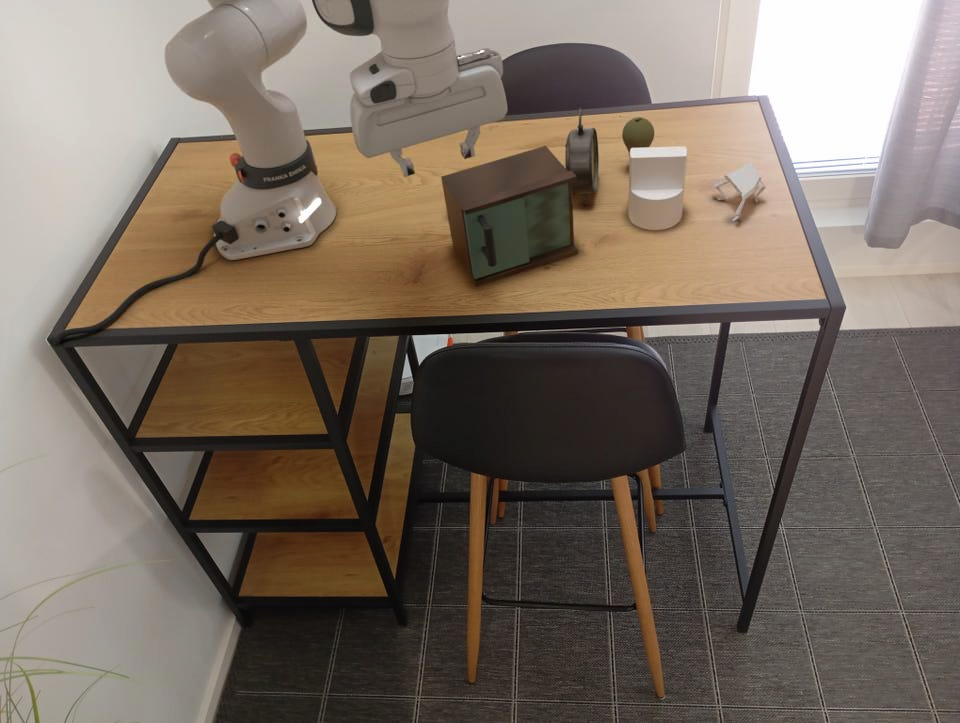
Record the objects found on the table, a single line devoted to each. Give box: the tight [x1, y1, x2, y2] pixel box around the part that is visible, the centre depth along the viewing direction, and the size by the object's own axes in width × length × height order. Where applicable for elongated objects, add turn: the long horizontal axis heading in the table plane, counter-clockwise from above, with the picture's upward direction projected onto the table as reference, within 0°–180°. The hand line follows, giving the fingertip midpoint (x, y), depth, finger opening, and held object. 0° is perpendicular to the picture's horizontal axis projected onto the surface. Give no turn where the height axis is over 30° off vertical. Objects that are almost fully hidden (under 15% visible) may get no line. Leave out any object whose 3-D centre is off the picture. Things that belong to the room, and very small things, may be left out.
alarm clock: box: [564, 107, 600, 208], centre depth 136 cm, size 11×5×16 cm, turn 168°
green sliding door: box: [463, 197, 529, 279], centre depth 121 cm, size 10×5×12 cm, turn 110°
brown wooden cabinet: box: [440, 145, 579, 287], centre depth 127 cm, size 18×12×15 cm, turn 110°
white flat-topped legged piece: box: [711, 161, 767, 222], centre depth 132 cm, size 12×8×5 cm
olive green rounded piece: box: [621, 116, 655, 157], centre depth 142 cm, size 6×6×10 cm
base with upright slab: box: [627, 145, 688, 231], centre depth 131 cm, size 9×9×12 cm
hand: (438, 164), depth 106 cm, fingers open, 7 cm apart
